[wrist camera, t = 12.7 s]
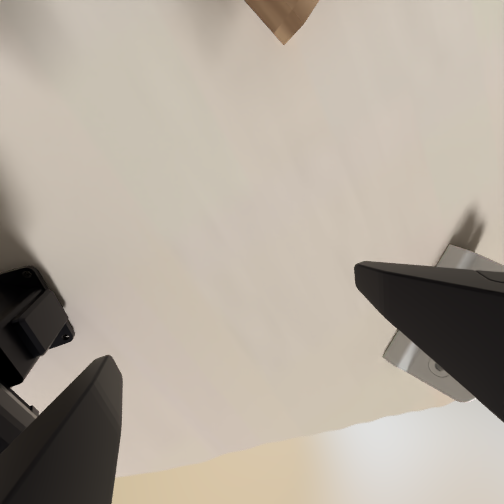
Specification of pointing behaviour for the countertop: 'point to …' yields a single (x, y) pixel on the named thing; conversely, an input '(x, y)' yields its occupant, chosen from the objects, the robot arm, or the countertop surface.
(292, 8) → the slot holder
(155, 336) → the countertop surface
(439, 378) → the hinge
